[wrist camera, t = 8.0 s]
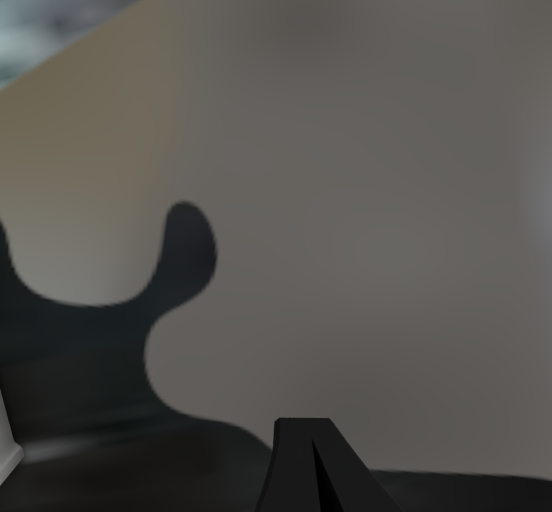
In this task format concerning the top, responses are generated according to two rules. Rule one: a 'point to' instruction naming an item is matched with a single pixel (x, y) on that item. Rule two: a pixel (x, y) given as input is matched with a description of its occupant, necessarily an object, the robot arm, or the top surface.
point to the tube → (7, 446)
